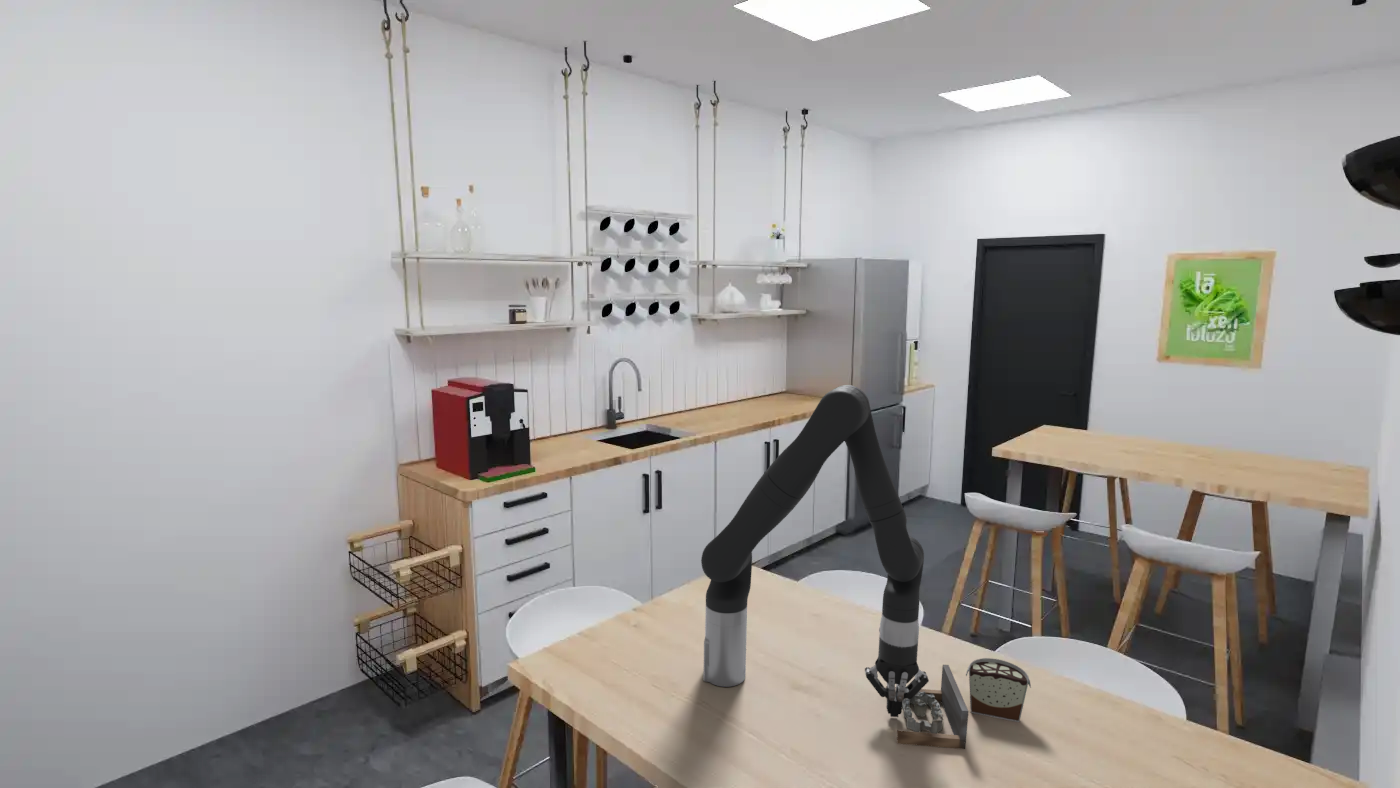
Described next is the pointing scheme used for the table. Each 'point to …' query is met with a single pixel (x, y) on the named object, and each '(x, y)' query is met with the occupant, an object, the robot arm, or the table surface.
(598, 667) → the table surface
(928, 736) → the display stand
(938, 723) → the egg carton
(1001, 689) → the food container
